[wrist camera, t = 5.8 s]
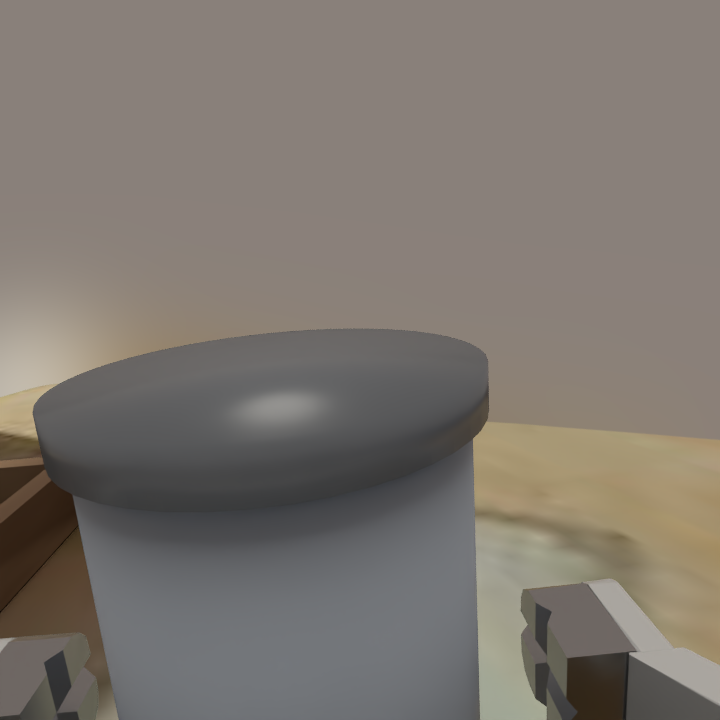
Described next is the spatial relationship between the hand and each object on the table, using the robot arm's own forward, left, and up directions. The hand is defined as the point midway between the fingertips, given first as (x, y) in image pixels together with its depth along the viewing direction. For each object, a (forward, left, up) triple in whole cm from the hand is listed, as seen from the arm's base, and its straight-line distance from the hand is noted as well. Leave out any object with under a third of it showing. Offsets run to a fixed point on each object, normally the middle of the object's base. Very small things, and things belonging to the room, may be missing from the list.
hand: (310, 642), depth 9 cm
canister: (0, -1, -6) cm, 6 cm away
